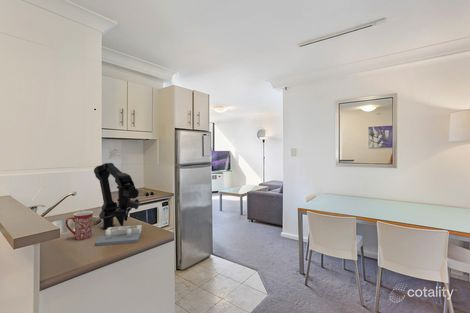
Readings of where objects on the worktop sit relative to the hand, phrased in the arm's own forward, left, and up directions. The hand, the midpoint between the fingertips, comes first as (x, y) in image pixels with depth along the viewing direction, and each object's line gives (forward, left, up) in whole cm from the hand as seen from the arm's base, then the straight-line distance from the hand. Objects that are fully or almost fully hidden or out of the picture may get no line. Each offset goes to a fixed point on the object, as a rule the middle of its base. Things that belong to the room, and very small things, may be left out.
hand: (124, 223), depth 130 cm
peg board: (+11, 0, -6) cm, 12 cm away
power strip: (0, 0, -6) cm, 6 cm away
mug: (+2, -22, -6) cm, 23 cm away
